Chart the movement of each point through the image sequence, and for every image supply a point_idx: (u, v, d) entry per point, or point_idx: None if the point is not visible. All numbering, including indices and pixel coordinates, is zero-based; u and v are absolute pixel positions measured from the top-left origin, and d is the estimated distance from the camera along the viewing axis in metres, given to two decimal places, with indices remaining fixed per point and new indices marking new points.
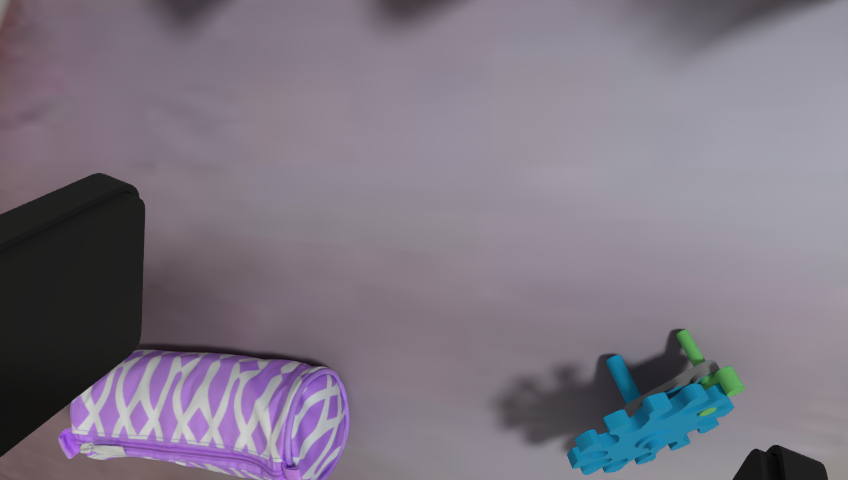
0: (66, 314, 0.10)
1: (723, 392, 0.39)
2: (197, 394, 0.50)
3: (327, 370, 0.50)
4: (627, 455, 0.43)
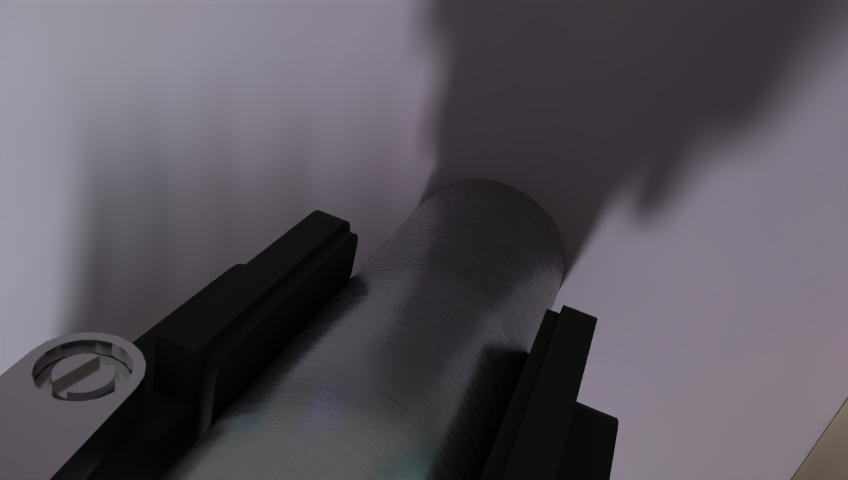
0: None
1: None
2: None
3: None
4: None
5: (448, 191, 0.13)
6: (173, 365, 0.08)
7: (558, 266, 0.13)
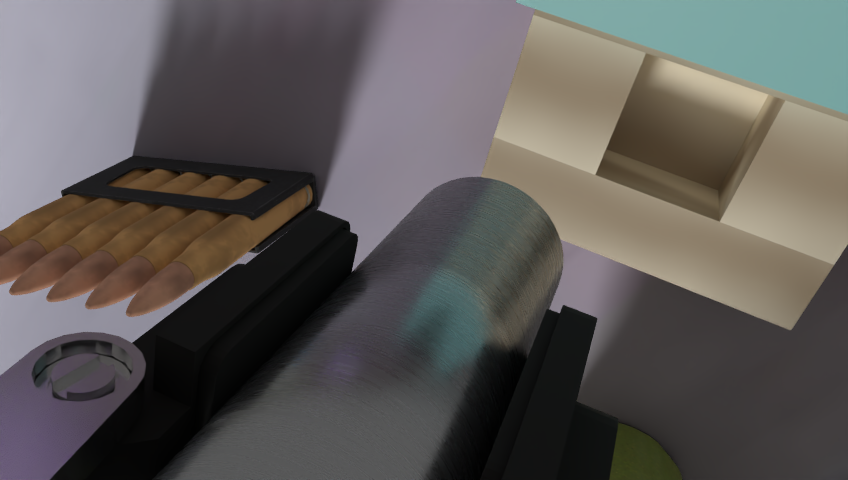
0: None
1: None
2: None
3: None
4: None
5: (447, 188, 0.13)
6: (173, 365, 0.08)
7: (557, 263, 0.13)
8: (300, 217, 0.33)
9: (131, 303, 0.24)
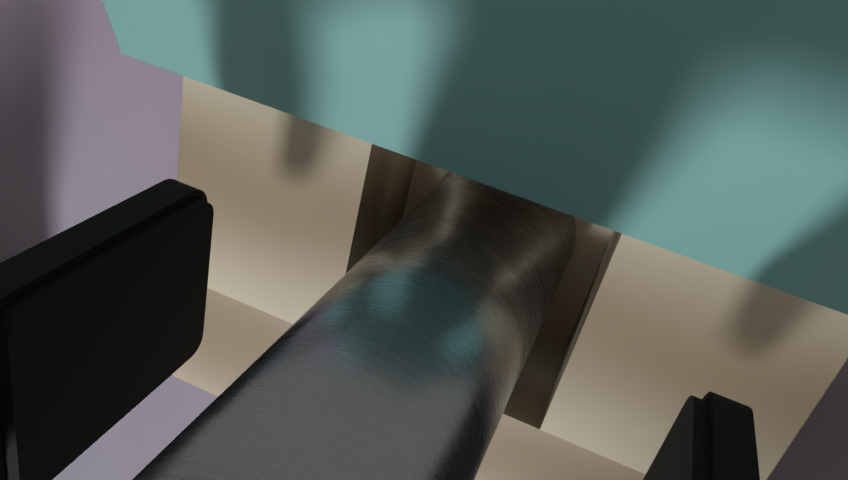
0: (143, 316, 0.10)
1: None
2: None
3: None
4: None
5: None
6: None
7: (570, 234, 0.14)
8: None
9: None
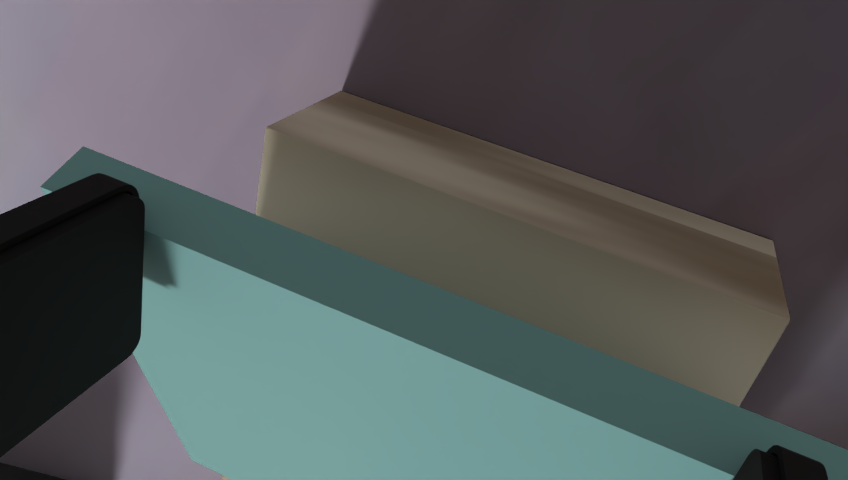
0: (66, 314, 0.10)
1: None
2: None
3: None
4: None
5: None
6: None
7: None
8: None
9: None
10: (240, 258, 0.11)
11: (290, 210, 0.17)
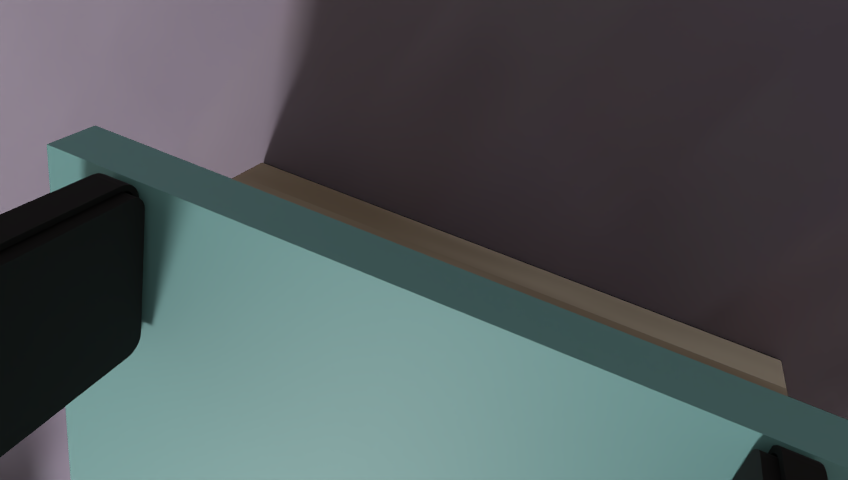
0: (66, 314, 0.10)
1: None
2: None
3: None
4: None
5: None
6: None
7: None
8: None
9: None
10: (253, 220, 0.10)
11: None
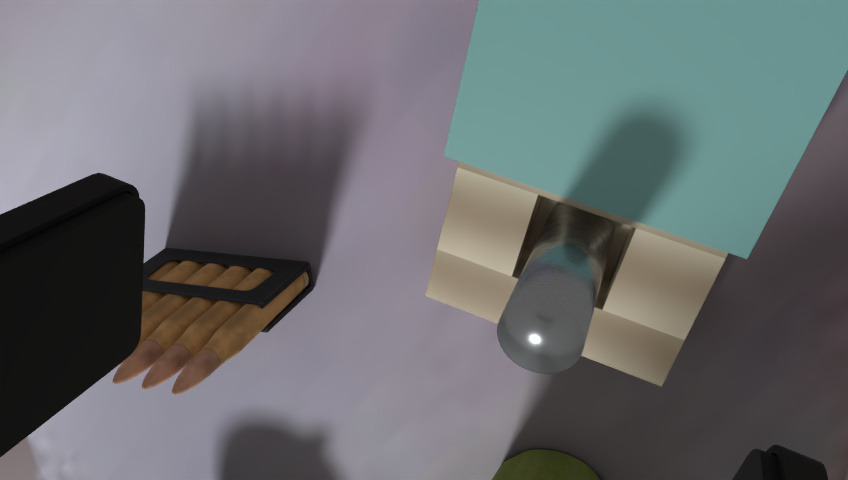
0: (66, 314, 0.10)
1: None
2: None
3: None
4: None
5: None
6: None
7: (613, 229, 0.33)
8: (299, 298, 0.41)
9: (175, 384, 0.33)
10: None
11: None
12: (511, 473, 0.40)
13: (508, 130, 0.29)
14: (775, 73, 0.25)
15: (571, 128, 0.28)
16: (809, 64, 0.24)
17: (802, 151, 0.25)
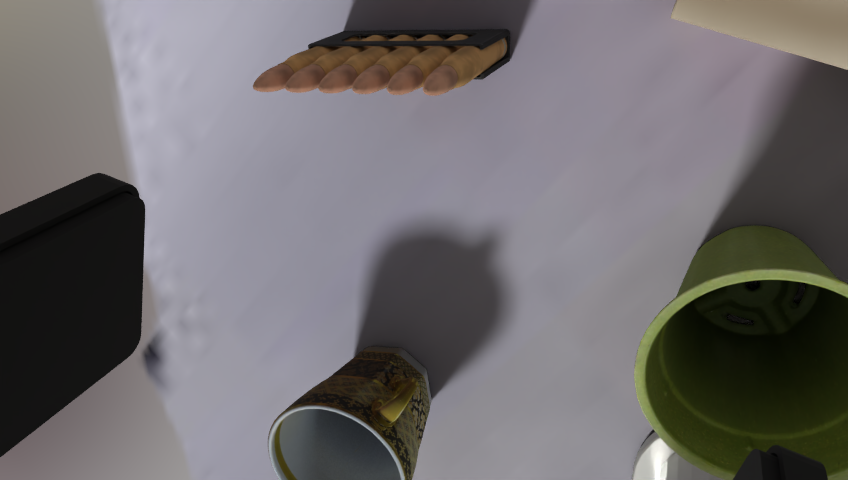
0: (66, 314, 0.10)
1: None
2: None
3: None
4: None
5: None
6: None
7: None
8: (501, 62, 0.40)
9: (426, 83, 0.31)
10: None
11: None
12: (725, 241, 0.39)
13: None
14: None
15: None
16: None
17: None
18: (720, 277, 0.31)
